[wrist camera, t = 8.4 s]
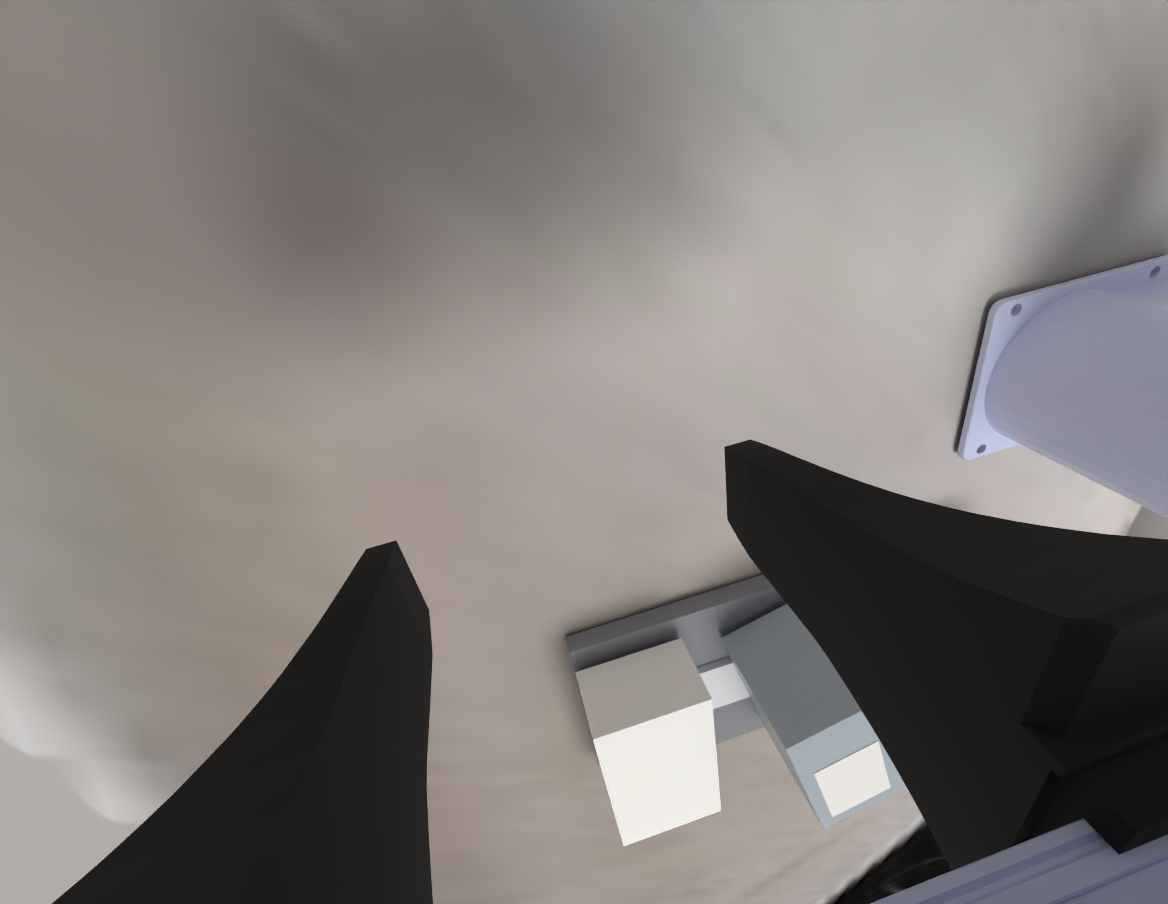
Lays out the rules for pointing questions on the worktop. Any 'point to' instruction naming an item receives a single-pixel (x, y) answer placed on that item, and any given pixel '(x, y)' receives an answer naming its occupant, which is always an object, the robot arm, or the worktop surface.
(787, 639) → the block
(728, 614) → the rail board
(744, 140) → the worktop surface
